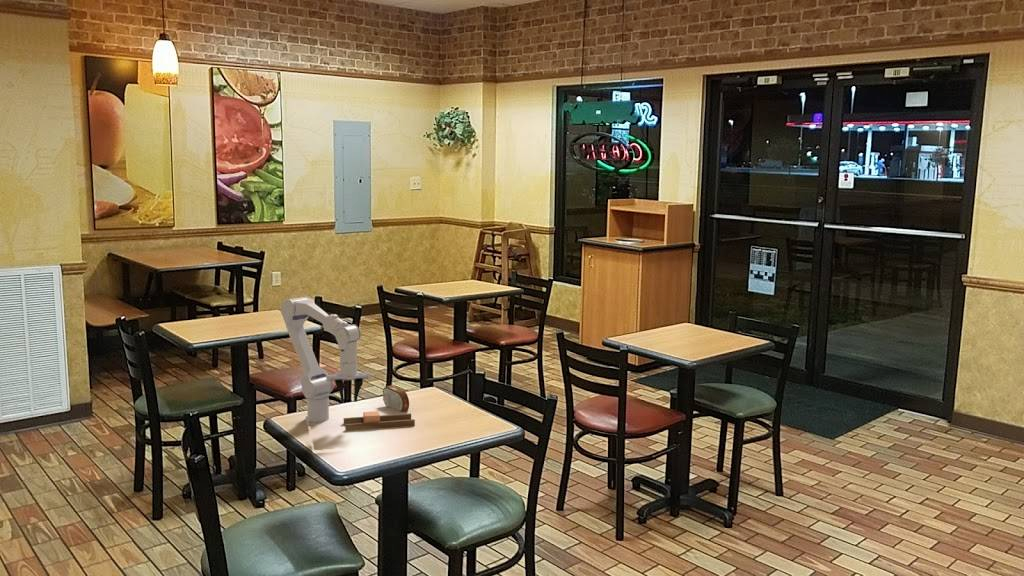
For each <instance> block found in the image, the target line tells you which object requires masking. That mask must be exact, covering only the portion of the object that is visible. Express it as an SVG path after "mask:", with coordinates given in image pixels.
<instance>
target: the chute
mask: <svg viewBox="0 0 1024 576" xmlns="http://www.w3.org/2000/svg"><path fill="white" fill-rule="evenodd" d="M415 424H416V420H415V419H412V413H411V412H410V413H399V414H383V415H382V414H380V422H369V423H363V416H356V417H355V416H353V417H352V416H351V417H343V426H344V429H345V432H348V431H362V430H363V431H364V430H377V429H378V430H379V429H387V428H388V429H389V428H390V429H391V428H402V427H405V428H406V427H415V426H416V425H415Z"/></svg>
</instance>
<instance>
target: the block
mask: <svg viewBox="0 0 1024 576" xmlns="http://www.w3.org/2000/svg"><path fill="white" fill-rule="evenodd" d="M362 415H363V416H362V417H363V423H369V422H380V415H381V414H380V412H379V411H377V410H375V411H374V410H373V411H363V413H362Z"/></svg>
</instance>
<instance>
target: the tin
mask: <svg viewBox="0 0 1024 576" xmlns="http://www.w3.org/2000/svg"><path fill="white" fill-rule="evenodd" d="M382 399H383V400H382V401H383V402H384V405H385V406H386V408H393V409H396V410H398V411H400V412H405V411H406V412H407V411H409V409H410V399H409V396H408V394H407V392H406V391H405V390H404V389H403V388H399V387H397V386H395V385H393V384H390V385H387V386H385V387H383V390H382Z"/></svg>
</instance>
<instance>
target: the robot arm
mask: <svg viewBox="0 0 1024 576" xmlns="http://www.w3.org/2000/svg"><path fill="white" fill-rule="evenodd" d="M279 311H280V314H281V316H282V318H283V322H284V323H285V327H286V331H287V333H288V335H289V338H290V341H291V344H292V345H293V348H294V350H295V353H296V356H297V359H298V361H299V363H300V366H301V368H302V370H303V374H302V376H301V377H300V380H299V381H300V384H301V385H300V386H301V391H302V394H303V396H304V398H305V399H306V406H307V407H306V409H307V413H306V416H305V421H306V425H307V426H311V422H312V423H322V422H325V421H328V420H329V419H330V417H329V416H330V410H329V407H330V405H329V400H330V399H329V398H330V397H329V396H331V392H332V391H333V390H334V384H335V386H336V388H337V389H338V392H339V395H340V401H341V403H345V397H344V382H343V381H353V388H354V391H353V392H354V393H353V401H354V402H358V397H359V393H360V391H361V387H362V385H363V383H364V381H363V380H368V381H369V380H370V381H371V380H372V373H371V372H358V342H359V340H360V339H361V337H362V333H361V330H360V328H359V327H358V325H357V324H354V323H353V324H349V323H348V322H347V321H344V320H343V319H342V318H340V317H339V315H337V314H336V313H335V314H333V313H331V314H328V313H327V312H326V311H325V310H323V309H322V308H321V307H320V306H318V305H317V304H316V303H315V300H314V299H313V298H311V297H310V296H307V295H304V296H302V297H294V298H285V299H284V300H283V301H282V302H281V304H280V308H279ZM310 317H311V318H312V319H314V320H316V321H317V322H320V323H321V324H322V327H323V329H324V330H326V331H327V332H328V333H330V334H332V336H334V337H335V340H336V342H337V345H338V346H337V347H338V349H339V373H333V374H329V373H328V371H327V370H325V369H324V368H322V367H320V366H319V363H318V360H317V357H316V356H315V352H314V351H313V348H312V345H311V343H310V341H309V338H308V336H307V333H306V329H305V327H304V325H305V322H306V321H307V320H308V319H309V318H310Z"/></svg>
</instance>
